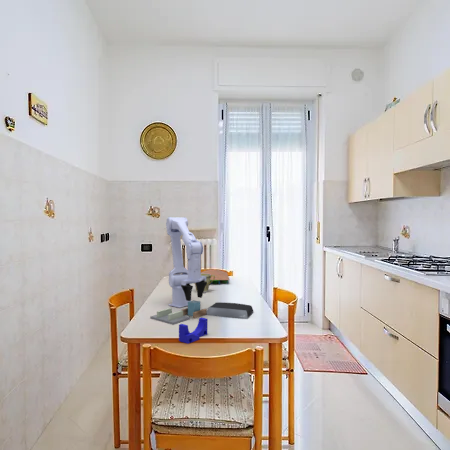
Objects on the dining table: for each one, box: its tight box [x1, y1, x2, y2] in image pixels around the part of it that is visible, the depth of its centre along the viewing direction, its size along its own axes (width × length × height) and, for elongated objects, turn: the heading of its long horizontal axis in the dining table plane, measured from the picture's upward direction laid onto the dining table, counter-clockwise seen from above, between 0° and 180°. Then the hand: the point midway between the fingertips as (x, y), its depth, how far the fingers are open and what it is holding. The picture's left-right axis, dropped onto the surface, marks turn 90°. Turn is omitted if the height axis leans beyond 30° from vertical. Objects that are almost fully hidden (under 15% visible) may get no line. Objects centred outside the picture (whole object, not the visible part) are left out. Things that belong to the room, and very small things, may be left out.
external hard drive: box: [205, 301, 254, 320], centre depth 164 cm, size 13×19×4 cm
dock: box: [149, 307, 191, 326], centre depth 154 cm, size 10×14×3 cm
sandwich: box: [201, 268, 230, 285], centre depth 246 cm, size 23×33×8 cm
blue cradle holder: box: [178, 316, 208, 345], centre depth 131 cm, size 12×4×6 cm, turn 141°
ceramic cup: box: [194, 273, 215, 294], centre depth 209 cm, size 13×10×10 cm
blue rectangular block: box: [187, 300, 201, 317], centre depth 161 cm, size 4×4×6 cm
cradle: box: [181, 307, 208, 319], centre depth 161 cm, size 8×8×2 cm
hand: (194, 298), depth 161 cm, fingers open, 7 cm apart
